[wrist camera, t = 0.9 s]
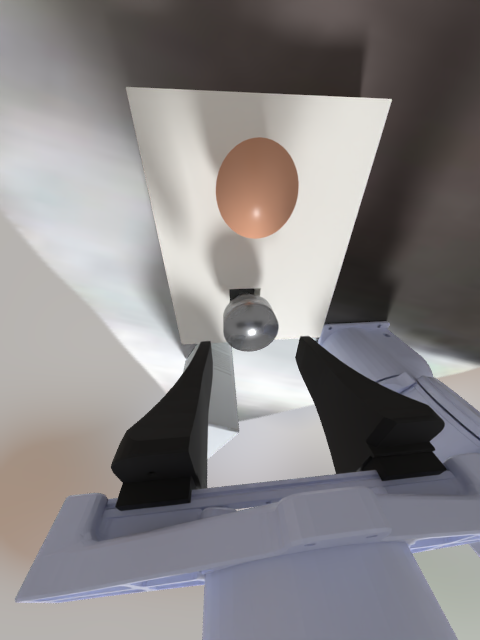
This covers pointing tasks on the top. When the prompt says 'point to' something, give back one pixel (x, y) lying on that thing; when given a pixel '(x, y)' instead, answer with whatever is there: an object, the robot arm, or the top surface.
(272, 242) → the panel
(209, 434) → the skincare box
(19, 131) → the top surface
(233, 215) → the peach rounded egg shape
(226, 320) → the plug
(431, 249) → the top surface
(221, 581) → the robot arm
